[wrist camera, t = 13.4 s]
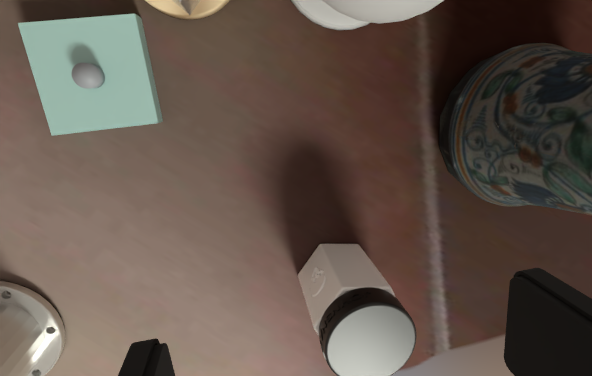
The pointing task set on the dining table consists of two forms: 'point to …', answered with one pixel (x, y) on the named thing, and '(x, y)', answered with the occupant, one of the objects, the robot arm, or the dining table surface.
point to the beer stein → (523, 128)
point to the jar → (355, 313)
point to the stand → (92, 72)
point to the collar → (187, 5)
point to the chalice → (361, 11)
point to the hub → (207, 6)
